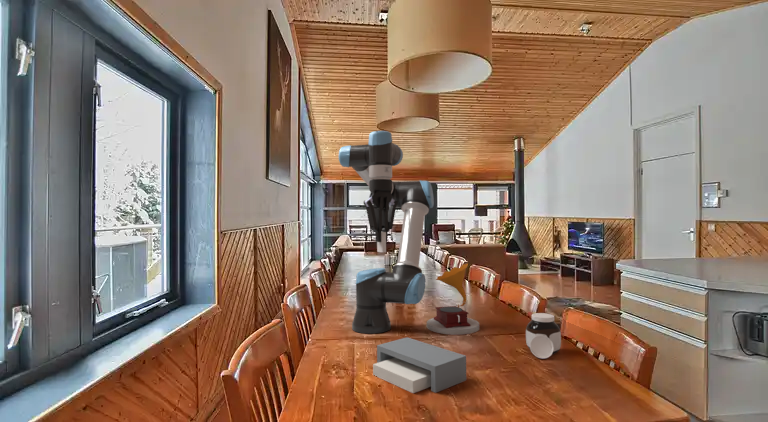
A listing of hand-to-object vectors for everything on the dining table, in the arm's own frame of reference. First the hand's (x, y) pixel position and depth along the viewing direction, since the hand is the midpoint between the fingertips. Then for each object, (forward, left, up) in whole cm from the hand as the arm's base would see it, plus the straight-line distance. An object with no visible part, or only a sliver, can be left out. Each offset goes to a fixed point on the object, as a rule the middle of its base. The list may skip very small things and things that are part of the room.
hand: (381, 251), depth 136 cm
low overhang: (+21, -4, -32) cm, 39 cm away
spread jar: (+35, +37, -33) cm, 61 cm away
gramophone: (-5, +40, -33) cm, 52 cm away
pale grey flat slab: (+21, -9, -32) cm, 40 cm away
